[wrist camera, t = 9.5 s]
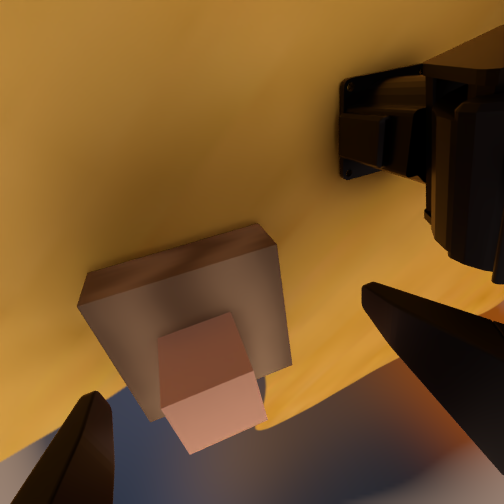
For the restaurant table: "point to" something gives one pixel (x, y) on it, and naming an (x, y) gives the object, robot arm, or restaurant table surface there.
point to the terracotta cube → (208, 383)
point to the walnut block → (188, 305)
